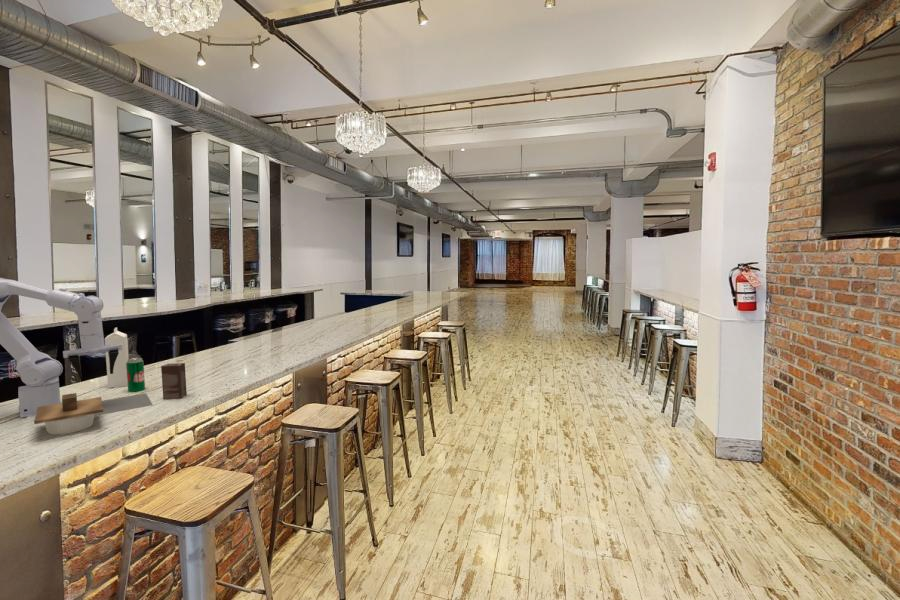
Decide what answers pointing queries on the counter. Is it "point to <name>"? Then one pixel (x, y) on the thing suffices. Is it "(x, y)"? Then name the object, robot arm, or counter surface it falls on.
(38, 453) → the counter surface
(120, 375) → the milk
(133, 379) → the soda can
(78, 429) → the ramekin
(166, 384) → the box
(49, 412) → the lid
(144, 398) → the mat
